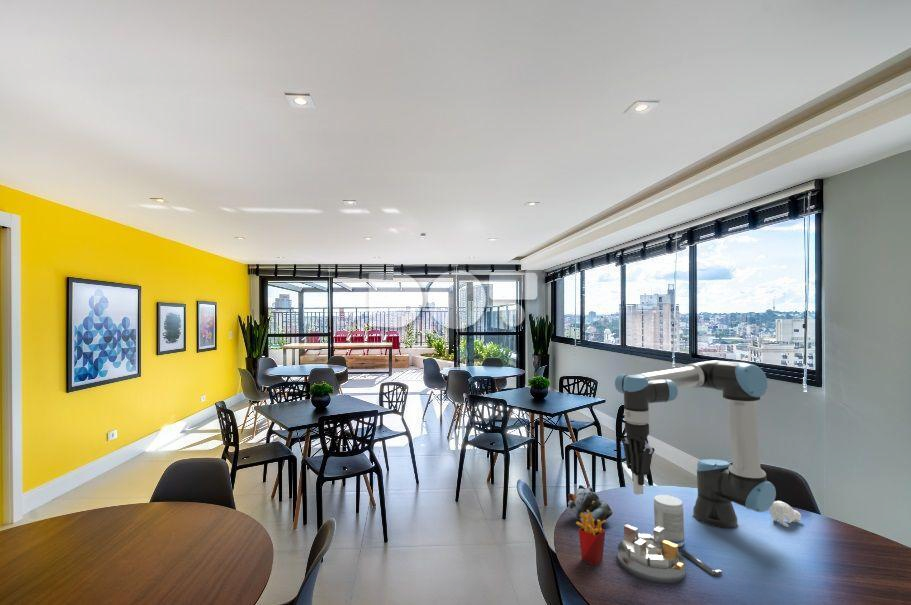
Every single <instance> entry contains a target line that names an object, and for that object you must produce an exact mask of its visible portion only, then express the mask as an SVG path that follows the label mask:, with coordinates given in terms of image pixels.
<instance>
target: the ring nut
mask: <svg viewBox="0 0 911 605" xmlns="http://www.w3.org/2000/svg"><path fill="white" fill-rule="evenodd" d="M623 536H624V537H623V539H622V541H623V548H624V550H625V552H626V553H627V555H628V557H630V559H632V560H635V561H637V562H639V563H641V564H643V565H645V566H650V567H651V568H666V569H669V567H670V568H672V567H673V566H674V565H675V564H677V563H678V562H679V554H680V551H679V547H678V545H676V544H674V543H672V542H669V541H667V540H664V539H665V528H663V527H660V526H658V527H656V528H655V527H654V529H653V534H652V535H651V534H650V533H640V532H639V528H638V527H635V526H633V525H630V524H628V523H627V524H625V525H623ZM643 539H648V540H653V541H655V542H657V543H659V544H660V545H661V546H662V550H663V554H665V555H649V554H647V553H646V552H647V546H646V541H645V540H643Z"/></svg>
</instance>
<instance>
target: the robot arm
mask: <svg viewBox="0 0 911 605" xmlns="http://www.w3.org/2000/svg"><path fill="white" fill-rule="evenodd" d="M614 387H615V389H616V391H618V392H619V393H621V394H623V404H624V405H623V406H624V407H623V408H624V421H625V422H624V432H625V434H626V436H625V437H624V438H621V443H622V447H623V450H624V457H625V461H626V468H627V469H630V471H631V474H632V475H631V477H632V479H631V480H632V483H633V484H632V485H633V487H632V488H633V489H632V490H633V494H634V495H637V496H638V495H643V494H644V485H645V476H647V475H650V471H651V465H652V458H653V454H654V452H655V450H656V449H655V448H654V447H651V446H650V445H649V439H648V436H649V435H650V424H649V422H650V415H649V414H650V413H649V410H650V409H649V404H655V403H656V404H657V403H667V402H668V403H669V402H672V401H674V400H676V399H677V397H678V394H679V393H678V389H681V388H686V387H691V388H694V389H698V388H706V389H714V390H716V391H717V390H718V391H722V398H723V399H724V400H725V401H726V402H727V406H728V407H727V408H728V420H729V434H730V435H729V436H730V447H731V448H730V450H731V460H732V464H731V463H730V462H729V461H727V460H723V459H722V460H721V459H716V458H715V459H711V458H710V459H709V458H708V459H706V458H705V459H701V460H699V461H698V462H697V468H696V477H697V480H696V481H697V483H696V484H697V497H696V500H695V504H694V506H693V508H692V513H693V517H694V518H695V519H697V521H699V522H702V523H703V524H707V525H709V526H711V527H717V528H720V529H721V528H723V529H727V528H728V529H730V528H735V527H737V526H738V515H737V514H736V511H735V507H734V506H733V503H735V504H736V505H740V506H742V507H744V508H746V509H747V510H750V511H751V510H752V511H755V512H756V513H764V512H767V511H769V508H770V507H771V506H772V504H773V503H774V502H775V501H776V497H777V492H776V491H777V490H776V487H775V485H774V484H773V483H772V482H770V481H768V480H767V473H766V471H765V470H764V469H762V468H761V457H760V456H761V455H760V454H761V453H760V443H759V441H760V440H759V430H758V429H759V428H758V418H757V416H758V415H757V403H759V402H760V401H761V397H762V396H764V395H765V394H766V392H767V389H768V379H767V376H766V373H765V372H764V371H763V369H761V367H760V366H757V365H756V364H752V363H748V362H742V361H741V362H739V361H729V360H728V361H727V360H726V361H725V360H719V359H718V360H716V359H714V360H706V361H700V362H694V363H688V364H686V365H685V366H684V367H678V368H677V367H676V368H670V369H664V370H658V371H650V372H644V373H637V374H636V373H635V374H628V373H620V374H619V375H617V376H616V378H615V380H614ZM732 502H733V503H732Z"/></svg>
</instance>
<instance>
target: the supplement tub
mask: <svg viewBox="0 0 911 605" xmlns="http://www.w3.org/2000/svg"><path fill="white" fill-rule="evenodd" d="M653 513H654V514H653V515H654V516H653V518H654V529H655V528H656V527H658V526H660V527H663V528H665V539H664V540H667V541H669V542H672V543H674V544H676V545H678V548H679V547H682V546H684V544H685V524H684V522H685V520H684V505H683V501H682V500H681V499H680V498H678V497H676V496H672V495H668V494H657V495H655V496H654V498H653Z"/></svg>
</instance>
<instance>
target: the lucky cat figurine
mask: <svg viewBox="0 0 911 605" xmlns="http://www.w3.org/2000/svg"><path fill="white" fill-rule="evenodd" d="M567 500H568V502H567V505H568V507H569V509H570V511H572V513H573V514H574V516H576V517H577V518H578V519H579V520H580V521H579V522H580V523H582V518H581V517H580V515H581V513H583V514H585V516H586V515H587V514H588V513H587V510H589V511H590V513H591V515H592V516H593V519H594V526H596V527H597V525H598V522H597V520H600V522H601V521H603V520H605V521H606V520H608V519H609V518H610V517H611V516H612V515H613V511H612V508H611V507H610V505H609V503H607V502H606V501H603V500H601V499H600V497H599V495H597V493H596V492H594V490H593V488H592V487H591V486H589V487H588V488H586V487H585V486H583V485H581V484H579V485H578V488H577V489H576V490H575V492H574V493H568V498H567ZM588 518H589V517H588ZM589 522H590V519H589Z"/></svg>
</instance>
